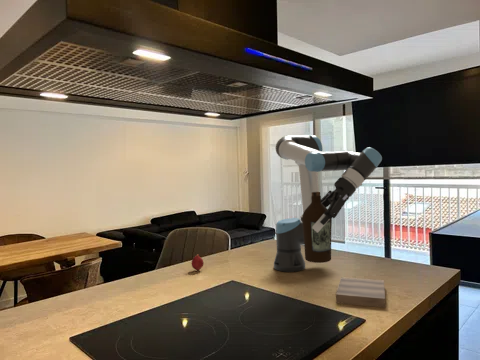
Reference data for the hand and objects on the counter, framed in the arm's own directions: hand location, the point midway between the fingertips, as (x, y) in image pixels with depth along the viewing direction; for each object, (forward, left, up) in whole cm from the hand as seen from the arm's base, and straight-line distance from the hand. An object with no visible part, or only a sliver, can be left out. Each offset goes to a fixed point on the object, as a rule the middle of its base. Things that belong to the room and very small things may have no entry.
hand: (309, 227), depth 128 cm
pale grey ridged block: (-7, +17, -26) cm, 32 cm away
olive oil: (-2, +2, -12) cm, 13 cm away
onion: (-21, -59, -26) cm, 68 cm away
